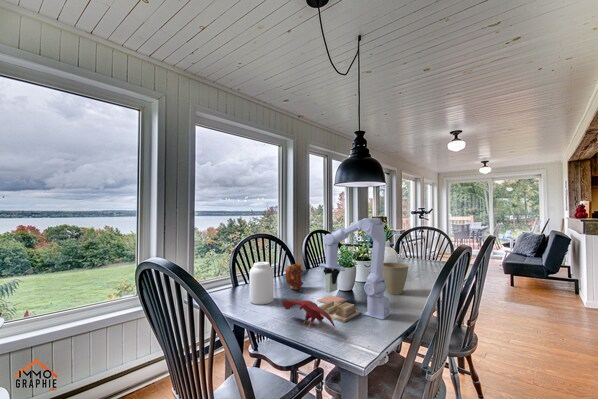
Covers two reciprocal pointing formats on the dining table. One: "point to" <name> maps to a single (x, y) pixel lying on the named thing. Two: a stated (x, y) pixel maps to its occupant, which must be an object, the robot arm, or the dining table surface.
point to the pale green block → (330, 284)
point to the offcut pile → (345, 310)
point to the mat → (332, 299)
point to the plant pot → (395, 277)
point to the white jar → (261, 283)
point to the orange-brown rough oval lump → (294, 276)
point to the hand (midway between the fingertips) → (331, 283)
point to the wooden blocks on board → (332, 309)
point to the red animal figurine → (308, 310)
